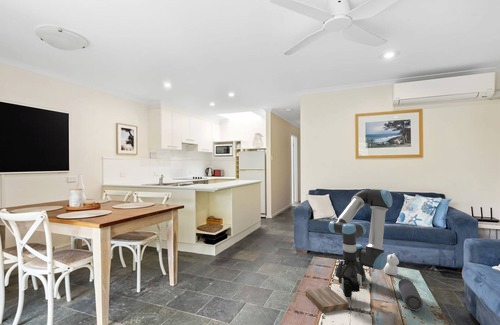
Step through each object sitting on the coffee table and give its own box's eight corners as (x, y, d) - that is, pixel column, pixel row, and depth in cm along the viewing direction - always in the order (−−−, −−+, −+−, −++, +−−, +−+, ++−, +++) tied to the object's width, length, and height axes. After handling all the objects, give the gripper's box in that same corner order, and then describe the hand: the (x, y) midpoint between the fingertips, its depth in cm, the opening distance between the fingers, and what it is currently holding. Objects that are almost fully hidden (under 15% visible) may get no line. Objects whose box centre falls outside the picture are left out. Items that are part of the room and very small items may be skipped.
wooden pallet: (328, 291, 160) (328, 287, 160) (348, 308, 141) (348, 302, 141) (305, 295, 156) (305, 290, 156) (323, 312, 137) (323, 307, 137)
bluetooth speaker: (397, 292, 159) (396, 276, 160) (414, 295, 156) (414, 278, 156) (403, 311, 138) (403, 292, 139) (423, 314, 135) (423, 295, 135)
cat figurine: (396, 278, 181) (396, 256, 181) (378, 272, 190) (378, 252, 191) (401, 274, 187) (401, 254, 187) (383, 269, 196) (383, 249, 197)
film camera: (362, 299, 143) (361, 283, 144) (344, 297, 145) (343, 282, 145) (356, 286, 158) (355, 271, 158) (339, 285, 160) (339, 271, 160)
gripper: (362, 246, 158) (363, 281, 158) (328, 250, 152) (329, 287, 151) (371, 250, 151) (372, 286, 151) (335, 254, 145) (336, 293, 144)
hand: (350, 287), depth 151 cm, fingers closed on film camera, 12 cm apart
